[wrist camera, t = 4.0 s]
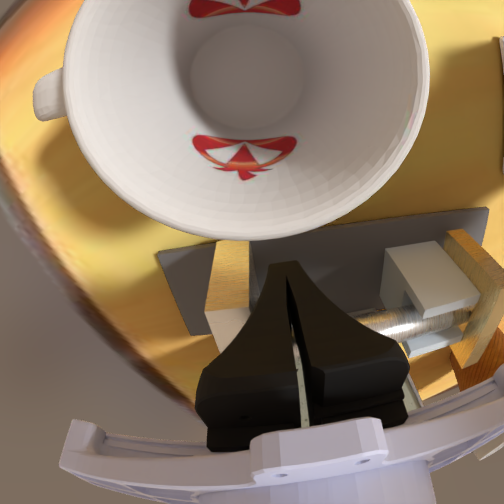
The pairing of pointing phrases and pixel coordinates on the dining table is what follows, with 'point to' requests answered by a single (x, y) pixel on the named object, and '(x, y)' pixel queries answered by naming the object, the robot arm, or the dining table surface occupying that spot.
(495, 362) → the disposable coffee cup
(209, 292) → the shaft
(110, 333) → the dining table surface
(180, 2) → the cup
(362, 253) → the mat
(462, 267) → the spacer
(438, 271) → the bearing block
